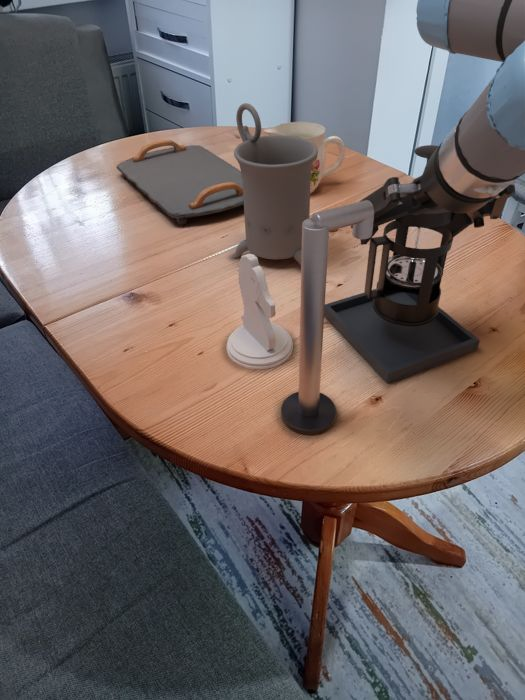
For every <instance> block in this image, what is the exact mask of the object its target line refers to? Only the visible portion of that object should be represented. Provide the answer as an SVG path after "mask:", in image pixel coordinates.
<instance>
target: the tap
mask: <svg viewBox="0 0 525 700" xmlns="http://www.w3.org/2000/svg"><path fill="white" fill-rule="evenodd" d="M360 201H361V200H360ZM373 222H374V208H373V205H372V203H371V202H370V201H368V200H365V201H361V202H359V201H357V202H353V203H349V204H345V205H341V206H337V207H336V206H335V207H333V208H328V209H324V210H319V211H316V212H313V213H311V217H309V219H306V220H304V221H303V223H302V257H301V266H300V304H299V305H300V310H299V320H300V321H299V359H298V360H299V361H298V391H296V392H293V393H292V394H289V395H288V396H287V397H286V398H284V401H283V402H282V404H281V407H280V416H281V421H282V423H283V425H284V426H285V427H286V428H287V429H289V430H290V431H291V432H294V433H295V434H298V435H303V436H316V435H321V434H324V433H326V432H327V431H329V430H330V429H331V428H332V427H333V425H334V424H335V421H336V417H337V408H336V405H335V403H334V401H333V400H332V399H331V398H330V397H329V396H328V395H326V394H324V393H322V392H321V379H322V377H321V376H322V362H323V361H322V360H323V343H324V327H325V326H324V323H325V317H324V309H325V304H326V291H327V271H328V255H329V238H330V237H329V236H330V232H331V231H334V230H339V229H342V228H346V227H351V225H353V229H352V231H351V235H352V237H353V238H355V239H356V240H360V239H368V238H370V237H371V236H372V230H373Z"/></svg>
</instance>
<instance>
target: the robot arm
mask: <svg viewBox="0 0 525 700" xmlns="http://www.w3.org/2000/svg"><path fill="white" fill-rule="evenodd" d="M416 4H417V5H416V10H415V11H416V18H415V19H416V27H417V31H418V35H419V36H420V37H421V40H423V42H424V43H425V44H427V45H428V46H430V47H434V48H437V49H440V50H443V51H446V52H448V53H449V54H451V55H452V54H453V55H455V54H458V55H459V54H460V55H465V56H468V57H469V56H470V57H475V58H480V59H485V60H490V61H495V62H501V64H500V65H499V66H498V68H497V69H496V71H495V74H494V75H493V77H492V78H491V80H490V81H489V82H488V84H487V85H486V87H484V89H483V90H482V91H481V93H480V94H479V95H478V97H477V98H476V99H475V101H474V102H473V103H472V105H471V106H470V107H469V109H468V110H467V111H466V112H464V114H463V115H462V116H461V117H460V119H458V121H457V123H456V124H455V125H454V126H453V127H452V128H451V130H450V131H449V132H448V134H446V136H445V138H443V140H442V141H441V142H440V144H439V145H437V146H438V148H437V149H436V150H435V151H434V153H433V154H432V155H431V157H430V158H429V160H428V162H427V161H426V164H425V166H424V170H423V173H422V174H421V175H420V176H418V177H416V178H414V179H413V180H412V182H410V183H401V181H400V178H399V177H398V176H392V177H389V178H388V179H386V181H385V182H384V184H383V185H382V186H381V187H379V188H378V189H375V190H374V191H373V192H371V193H370V194H368V195H367V196H365V197H364V198H362V199H360V201H358V202H361V201H365V200H368V201H370V202H371V203H372V205H373V208H374V222H373V230H372V236H371V237H370V238H368V239H359V240H360V245H367V244H368V243H370V240H371V238H374V236H375V235H376V233H377V232H378V231H379V226H382V225H384V224H388V223H390V222H392V221H394V220H395V219H398V218H400V217H403V216H405V215H408V214H412V215H419V214H422V213H425V212H427V211H430V210H439V209H441V208H443V209H445V210H448V211H450V212H454V213H455V215H454V218H453V220H452V221H451V223H449V224H447V225H445V226H447V227H448V228H449V229H450V230H451V231H452V233H453V238H455V237H456V236H458V235H459V234H460V233H461V232H463V231H464V230H466V229H467V228H468V227H470V226H471V225H473V228H474V229H480V228H483V227H484V226H485V217H489V219H490V220H498V219H499V218H501V216H502V214H503V211H504V208H505V206H506V204H507V201H508V199H509V198H511V197H512V196H513V195H515V194H516V192H517V191H516V184H515V181H516V180H517V179H519V178H520V177H522V176H523V175H524V174H525V0H417V3H416ZM418 202H419V203H420V204H421V205H420V206H419V203H418ZM350 228H351V229H352V230H353V225H350Z"/></svg>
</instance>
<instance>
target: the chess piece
mask: <svg viewBox="0 0 525 700" xmlns="http://www.w3.org/2000/svg"><path fill="white" fill-rule="evenodd" d="M259 263H260V262H259V258H258V256H256V255H254V254H253V253H247V254H244V255H243V254H242V255H241V256H240V259H239V261H238V269H237V272H238V274H237V276H238V284H239V289H240V294H241V298H242V304H243V315H242V316H241V320H242V325H240V326H238V327H237V328H235V330H233V331H232V333H231V334H230V335H229V337H228V338H227V342H226V353H227V355H228V358H229V359H230V360H231V361H232V362H233V363H234V364H236V365H237V366H240V367H241V368H245V369H249V370H256V371H257V370H259V371H260V370H268V369H272V368H276V367H278V366H280V365H282V364H284V363H285V362H287V360H288V359H289V358H290V357H291V355H292V354H293V351H294V342H293V339H292V335H290V333H289V332H288V331H287V330H286V329H285V328H284V327H282V326H281V325H279V324H277V323H275V322H273V321H272V322H271V320H270V319H272V318H274V317H275V316H276V304H275V302H274V300H273V298H272V296H271V294H270V291H269V286H268V283H267V278H266V275H265V272H264V270H263V268H262V266H261V265H260V264H259Z"/></svg>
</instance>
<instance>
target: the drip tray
mask: <svg viewBox="0 0 525 700" xmlns="http://www.w3.org/2000/svg"><path fill="white" fill-rule="evenodd" d="M374 290H376V288H374V289H372V291H374ZM386 298H387V299H389V300H391V301H393V302H396V303H399V304H404V305H417V299H418V295H415V294H412V293H405V292H399V293H393V294H390V295H387V296H386ZM324 319H326V320H327V321H328V323H330V325H331V326H332V327H333V328H334V329H335V330H336V331H337V332H338V333H339V334H340V336H342V338H343V339H344V340H345V341H346V342H347V343H348V344H349V345H350V346H351V347H352V348H353V349H354V350H355V351H356V353H358V355H359V356H360V357H361V358H362V359H363V360H364V361H365V362H366V364H367V365H368V366H369V367H370V368H372V370H373V371H374V372H375V373H376V374H377V375H378V376H379V377H380V378H381V379H382V380H383V382H384V383H385V384H387V385H388V384H391V383H393V382H396V381H398V380H401V379H404V378H406V377H409V376H411V375H414V374H418V373H420V372H423V371H425V370H428V369H431V368H434V367H437V366H439V365H441V364H444V363H447V362H449V361H452V360H455V359H457V358H460V357H463V356H466V355H468V354H471V353H474V352H476V351H478V348H479V345H480V342H481V340H480V339H479V338H478V337H477V336H475V334H473V333H472V332H470V331H469V330H468V329H467V328H465V327H464V325H462V324H460V323H459V322H458V321H457V320H456V319H454V318H453V317H452V316H451V315H449V314H448V313H447V312H446V311H445V310H443V309H442V308H441V307H439V312H438V315H437V317H436V318H435V319H434V320H432V321H431V322H429V323H427V324H424V325H420V326H402V325H397V324H393V323H391V322H388V321H386V320H384V319H382V318H381V317H380V316H378V314H377V313H376V312H375V310H374V308H373V300H369V299H368V297H367V296H366V294H365V292H361V293H358V294H355V295H352V296H351V295H350V296H348V297H345V298H341V299H337V300H334V301H331V302H329V303H325V309H324Z"/></svg>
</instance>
